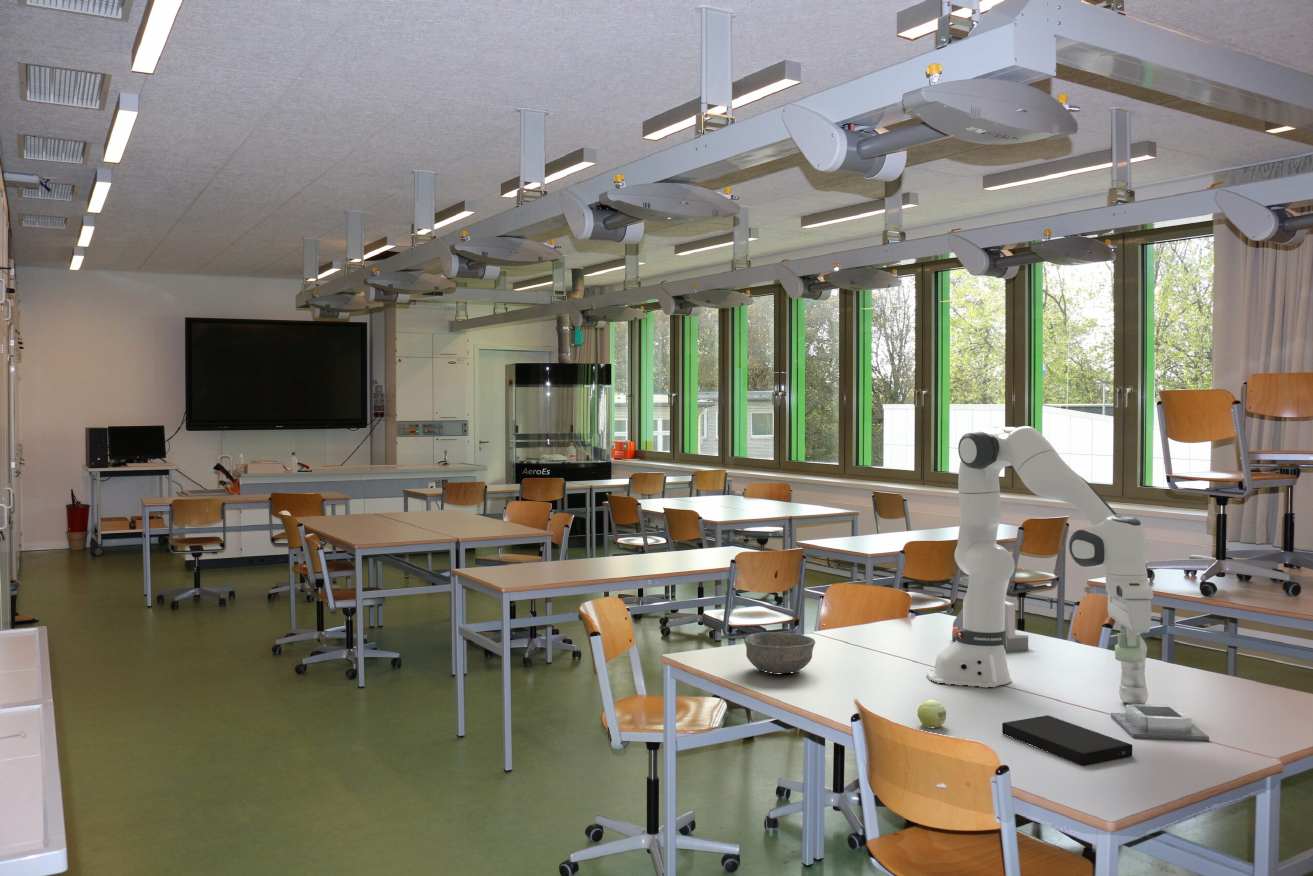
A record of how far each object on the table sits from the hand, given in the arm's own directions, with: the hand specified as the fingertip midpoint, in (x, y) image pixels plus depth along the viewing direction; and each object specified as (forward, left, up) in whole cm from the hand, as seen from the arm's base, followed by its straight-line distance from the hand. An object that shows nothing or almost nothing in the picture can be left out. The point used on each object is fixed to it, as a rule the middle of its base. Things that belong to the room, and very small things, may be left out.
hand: (1128, 644), depth 222 cm
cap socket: (+6, +1, -20) cm, 21 cm away
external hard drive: (-18, -14, -20) cm, 31 cm away
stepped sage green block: (0, 0, -4) cm, 4 cm away
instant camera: (-16, +85, -20) cm, 89 cm away
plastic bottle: (+7, +21, -20) cm, 30 cm away
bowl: (-83, +41, -20) cm, 94 cm away
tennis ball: (-45, -5, -20) cm, 50 cm away
